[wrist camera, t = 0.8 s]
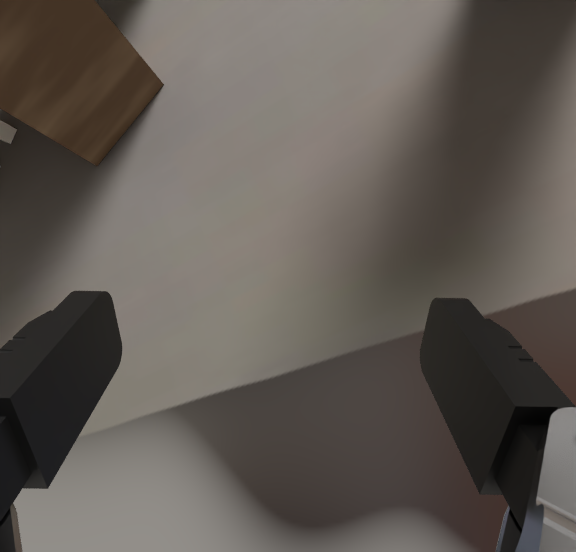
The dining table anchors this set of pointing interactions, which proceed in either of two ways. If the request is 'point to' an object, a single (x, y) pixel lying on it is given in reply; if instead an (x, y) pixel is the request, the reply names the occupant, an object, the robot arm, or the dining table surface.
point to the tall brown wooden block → (71, 74)
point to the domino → (6, 132)
